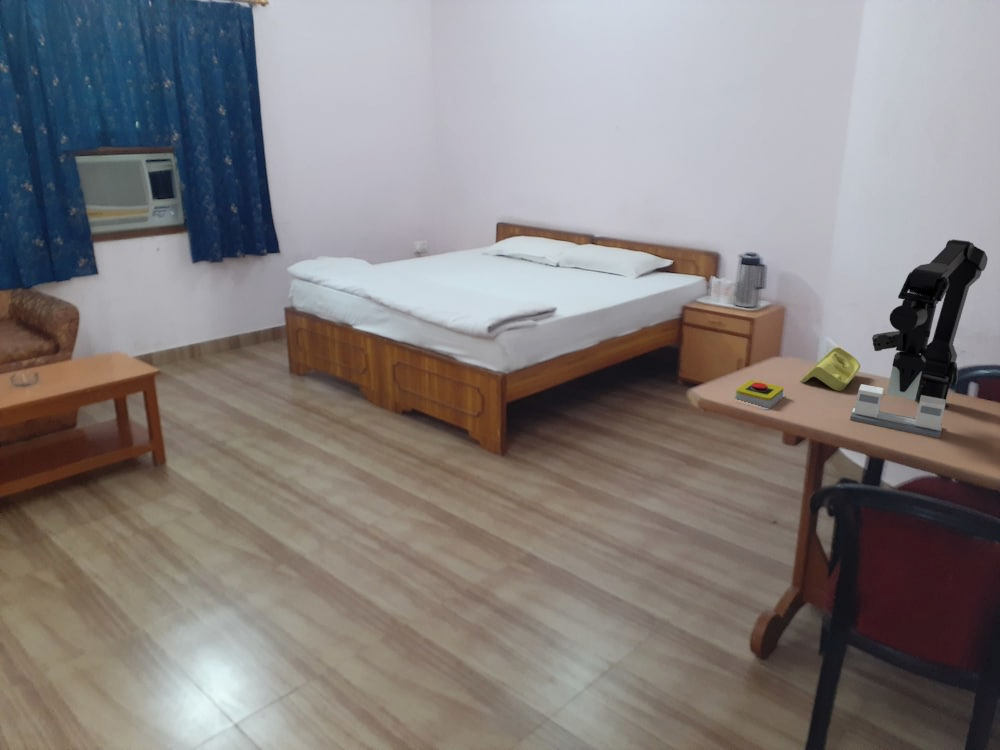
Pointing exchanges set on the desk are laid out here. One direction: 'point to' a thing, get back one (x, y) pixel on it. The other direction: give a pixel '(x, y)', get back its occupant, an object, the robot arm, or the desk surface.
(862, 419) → the rail board
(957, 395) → the desk surface
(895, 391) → the block
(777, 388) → the emergency button
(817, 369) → the plastic component
